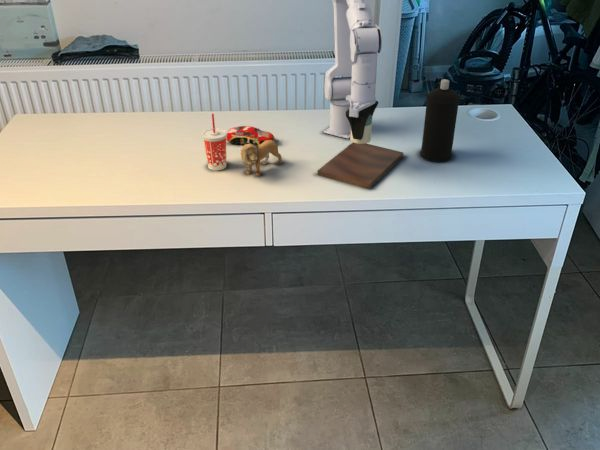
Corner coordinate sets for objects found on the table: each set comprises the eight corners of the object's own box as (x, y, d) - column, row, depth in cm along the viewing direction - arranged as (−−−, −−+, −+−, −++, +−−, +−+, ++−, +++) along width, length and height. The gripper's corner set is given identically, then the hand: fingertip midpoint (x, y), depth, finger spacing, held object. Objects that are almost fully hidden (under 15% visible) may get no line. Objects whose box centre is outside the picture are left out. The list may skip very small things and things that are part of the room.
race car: (277, 140, 168) (276, 126, 166) (271, 148, 164) (271, 134, 161) (231, 135, 171) (230, 122, 168) (224, 143, 166) (223, 130, 164)
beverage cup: (233, 162, 157) (229, 111, 149) (222, 173, 152) (218, 120, 144) (211, 159, 158) (207, 107, 151) (200, 169, 154) (195, 117, 146)
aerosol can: (452, 163, 155) (463, 87, 145) (419, 161, 157) (427, 85, 146) (452, 149, 162) (462, 76, 151) (420, 147, 164) (428, 74, 153)
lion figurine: (255, 184, 147) (253, 149, 142) (236, 178, 149) (234, 145, 144) (286, 159, 158) (285, 127, 153) (268, 155, 160) (267, 123, 155)
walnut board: (354, 144, 165) (355, 140, 165) (403, 156, 159) (403, 152, 158) (317, 174, 151) (317, 170, 150) (368, 189, 145) (369, 184, 144)
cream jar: (353, 134, 154) (354, 111, 151) (373, 137, 152) (374, 114, 149) (347, 142, 150) (348, 119, 147) (367, 145, 148) (368, 122, 145)
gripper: (356, 69, 150) (354, 120, 157) (337, 88, 139) (335, 143, 146) (384, 72, 148) (380, 124, 155) (367, 92, 137) (364, 148, 144)
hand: (360, 134), depth 151 cm, fingers closed on cream jar, 5 cm apart
